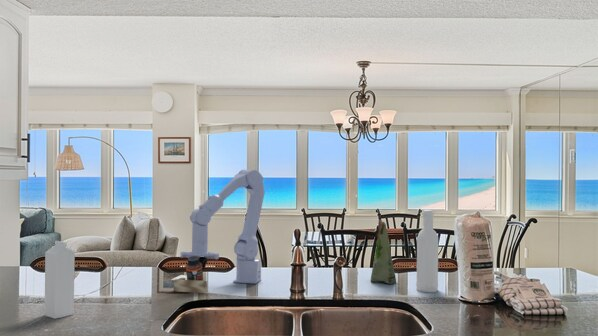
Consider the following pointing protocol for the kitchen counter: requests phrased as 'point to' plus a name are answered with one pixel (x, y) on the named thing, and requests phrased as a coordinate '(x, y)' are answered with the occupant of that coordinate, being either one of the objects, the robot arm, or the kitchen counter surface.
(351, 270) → the kitchen counter surface
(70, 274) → the milk
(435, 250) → the bottle
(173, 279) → the mat
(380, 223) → the pouch
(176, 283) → the corner holder
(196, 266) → the supplement bottle
